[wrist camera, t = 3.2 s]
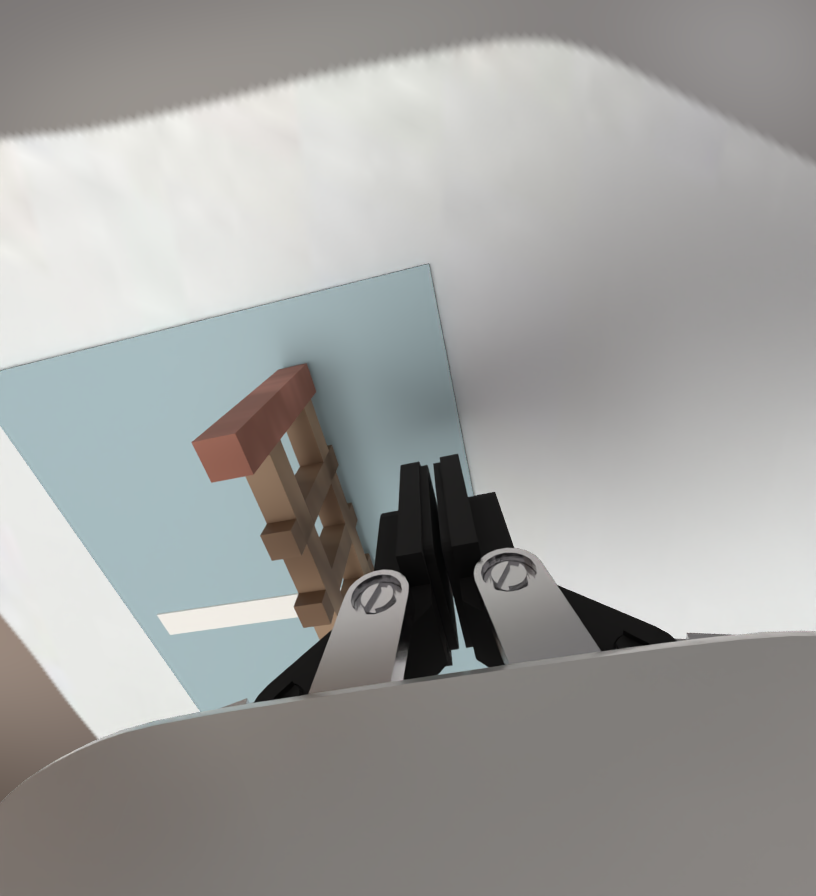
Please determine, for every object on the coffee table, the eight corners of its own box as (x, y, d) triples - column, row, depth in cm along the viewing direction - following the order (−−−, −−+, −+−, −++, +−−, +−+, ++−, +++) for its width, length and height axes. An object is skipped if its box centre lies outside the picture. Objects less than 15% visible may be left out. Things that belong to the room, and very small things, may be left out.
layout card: (428, 263, 15) (428, 264, 15) (515, 714, 27) (517, 722, 26) (-24, 376, 18) (-35, 379, 18) (228, 742, 29) (225, 750, 29)
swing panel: (378, 575, 21) (358, 711, 15) (355, 579, 21) (326, 714, 15) (306, 363, 16) (234, 433, 10) (278, 369, 17) (191, 442, 11)
